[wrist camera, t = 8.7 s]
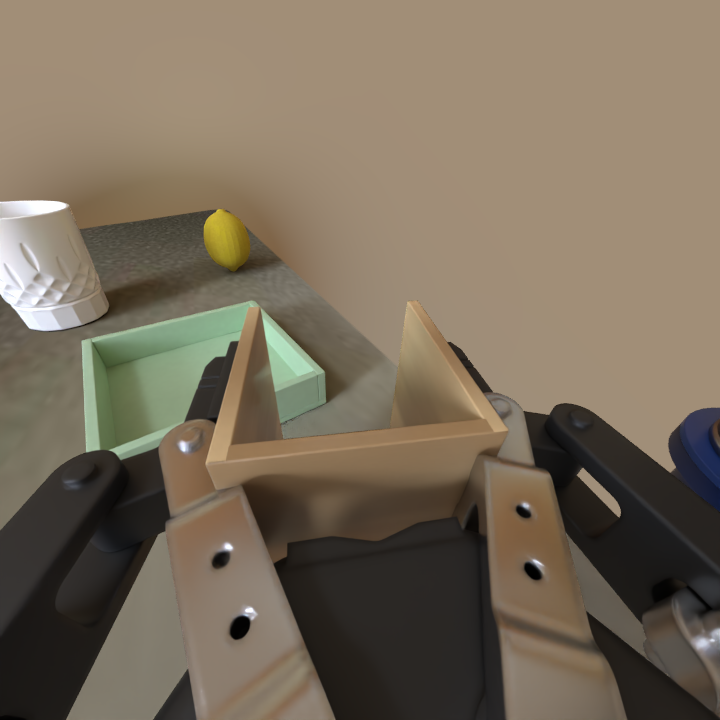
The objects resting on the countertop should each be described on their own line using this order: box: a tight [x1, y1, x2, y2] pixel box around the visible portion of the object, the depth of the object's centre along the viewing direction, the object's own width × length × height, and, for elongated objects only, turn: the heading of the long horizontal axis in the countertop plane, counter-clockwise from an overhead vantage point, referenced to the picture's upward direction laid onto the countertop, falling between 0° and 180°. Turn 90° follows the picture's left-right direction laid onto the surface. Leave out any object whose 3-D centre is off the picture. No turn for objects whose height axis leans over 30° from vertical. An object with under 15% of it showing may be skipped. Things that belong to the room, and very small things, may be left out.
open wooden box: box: [206, 301, 509, 563], centre depth 11 cm, size 6×6×9 cm
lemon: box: [204, 209, 250, 271], centre depth 41 cm, size 6×6×8 cm
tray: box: [82, 300, 326, 460], centre depth 23 cm, size 13×13×3 cm
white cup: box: [0, 201, 109, 331], centre depth 29 cm, size 8×8×10 cm
